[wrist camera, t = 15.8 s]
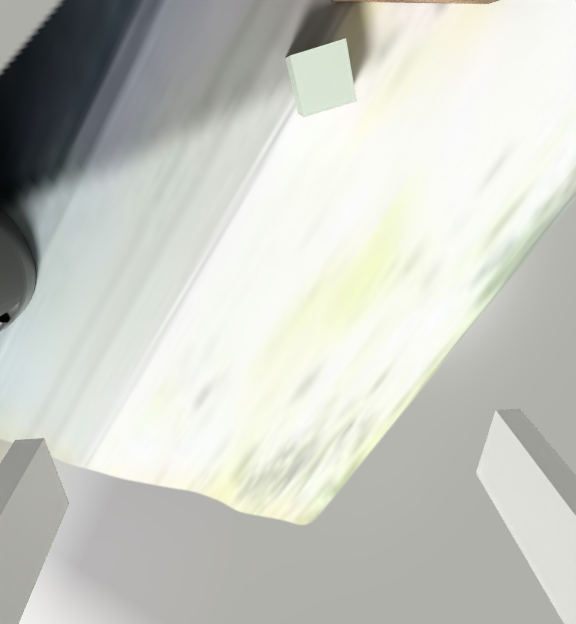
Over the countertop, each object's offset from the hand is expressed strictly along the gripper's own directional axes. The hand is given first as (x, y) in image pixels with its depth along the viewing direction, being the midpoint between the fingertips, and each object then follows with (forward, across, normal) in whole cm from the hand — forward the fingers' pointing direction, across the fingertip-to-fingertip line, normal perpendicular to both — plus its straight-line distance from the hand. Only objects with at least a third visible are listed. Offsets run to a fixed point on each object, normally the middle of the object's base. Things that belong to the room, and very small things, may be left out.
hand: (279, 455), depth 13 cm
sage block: (+29, +5, +10) cm, 31 cm away
